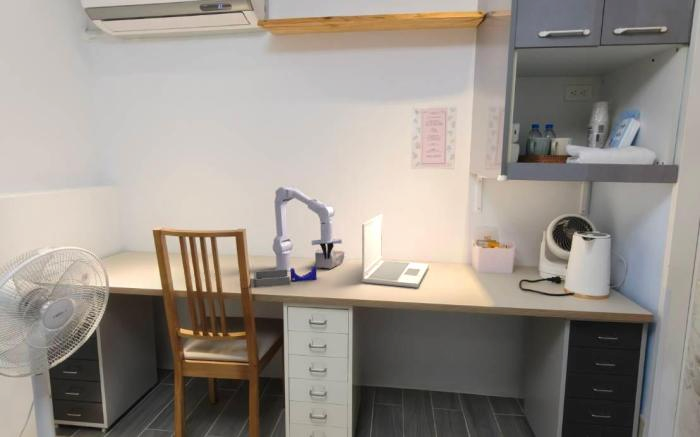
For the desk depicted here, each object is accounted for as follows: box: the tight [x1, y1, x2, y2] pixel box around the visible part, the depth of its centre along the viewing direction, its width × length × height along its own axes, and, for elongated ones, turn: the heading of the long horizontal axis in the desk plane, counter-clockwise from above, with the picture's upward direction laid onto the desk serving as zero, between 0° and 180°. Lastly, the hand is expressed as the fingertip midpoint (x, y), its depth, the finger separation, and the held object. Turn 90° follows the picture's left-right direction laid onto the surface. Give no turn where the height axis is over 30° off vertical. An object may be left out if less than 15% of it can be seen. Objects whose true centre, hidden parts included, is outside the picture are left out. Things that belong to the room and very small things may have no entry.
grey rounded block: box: [314, 247, 345, 269], centre depth 217 cm, size 13×11×20 cm
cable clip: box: [290, 265, 317, 283], centre depth 192 cm, size 12×4×6 cm, turn 106°
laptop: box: [361, 213, 430, 289], centre depth 197 cm, size 35×26×28 cm
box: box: [253, 269, 291, 288], centre depth 190 cm, size 14×16×4 cm
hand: (326, 258), depth 195 cm, fingers closed
